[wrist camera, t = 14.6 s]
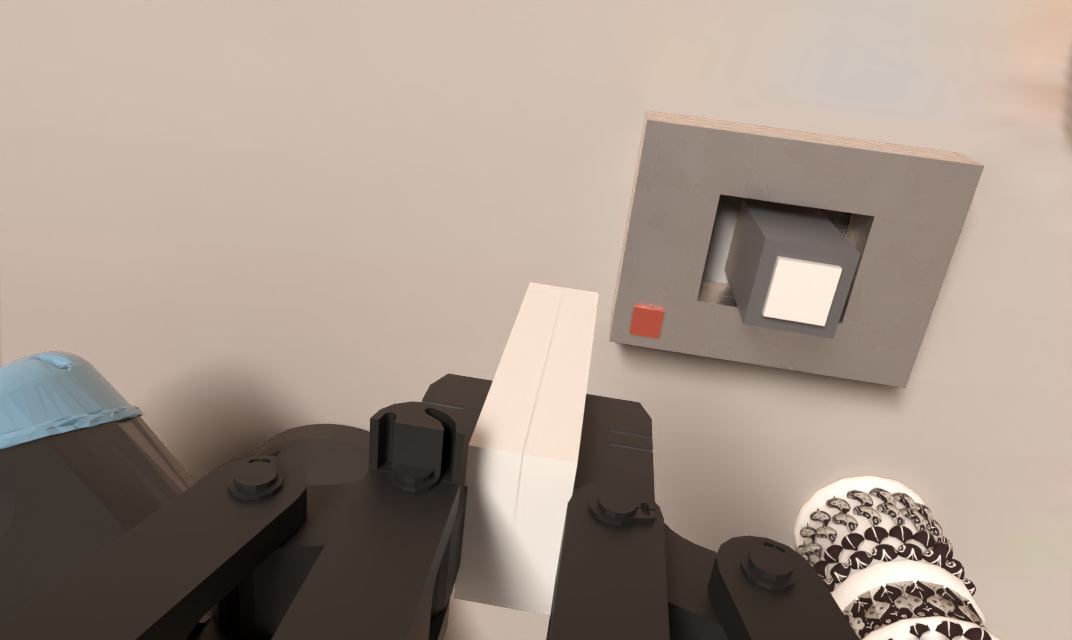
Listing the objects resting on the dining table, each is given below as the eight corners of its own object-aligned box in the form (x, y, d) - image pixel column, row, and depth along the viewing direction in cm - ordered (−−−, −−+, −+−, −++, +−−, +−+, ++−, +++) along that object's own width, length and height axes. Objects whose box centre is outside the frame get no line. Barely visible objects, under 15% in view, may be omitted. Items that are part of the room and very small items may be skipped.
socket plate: (885, 359, 44) (907, 390, 40) (611, 317, 45) (609, 343, 41) (955, 152, 39) (986, 166, 35) (646, 110, 40) (647, 120, 36)
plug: (799, 281, 42) (835, 342, 35) (724, 269, 43) (744, 327, 35) (820, 209, 41) (863, 256, 33) (742, 197, 41) (767, 241, 33)
